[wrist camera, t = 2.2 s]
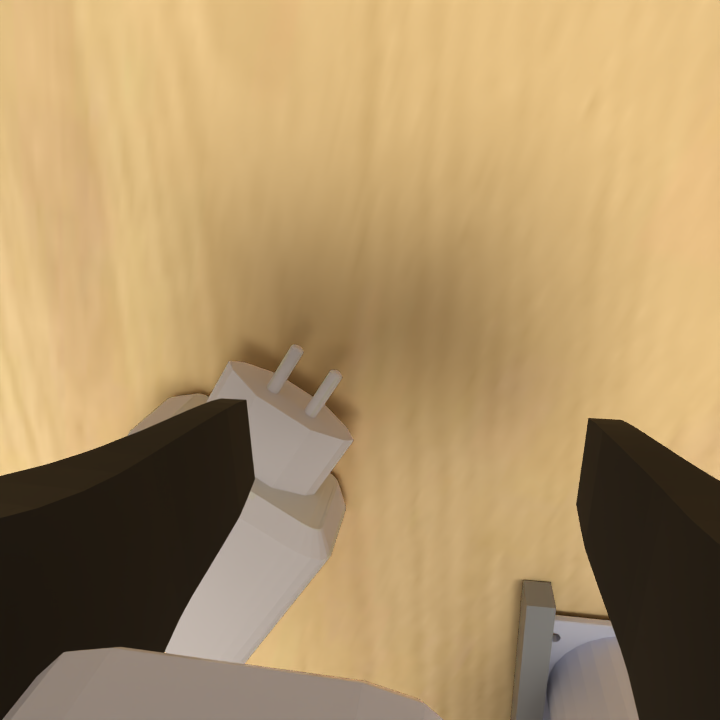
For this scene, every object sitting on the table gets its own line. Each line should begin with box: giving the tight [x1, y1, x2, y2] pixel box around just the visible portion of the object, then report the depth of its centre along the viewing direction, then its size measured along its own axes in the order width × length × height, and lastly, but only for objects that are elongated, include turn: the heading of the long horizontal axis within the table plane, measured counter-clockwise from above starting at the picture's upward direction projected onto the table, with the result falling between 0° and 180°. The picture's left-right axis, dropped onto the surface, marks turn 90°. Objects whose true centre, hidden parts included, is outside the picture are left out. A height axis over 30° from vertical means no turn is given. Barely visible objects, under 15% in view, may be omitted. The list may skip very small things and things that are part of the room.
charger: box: [128, 345, 354, 664], centre depth 23 cm, size 5×9×15 cm
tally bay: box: [511, 580, 556, 720], centre depth 29 cm, size 13×26×2 cm, turn 92°
